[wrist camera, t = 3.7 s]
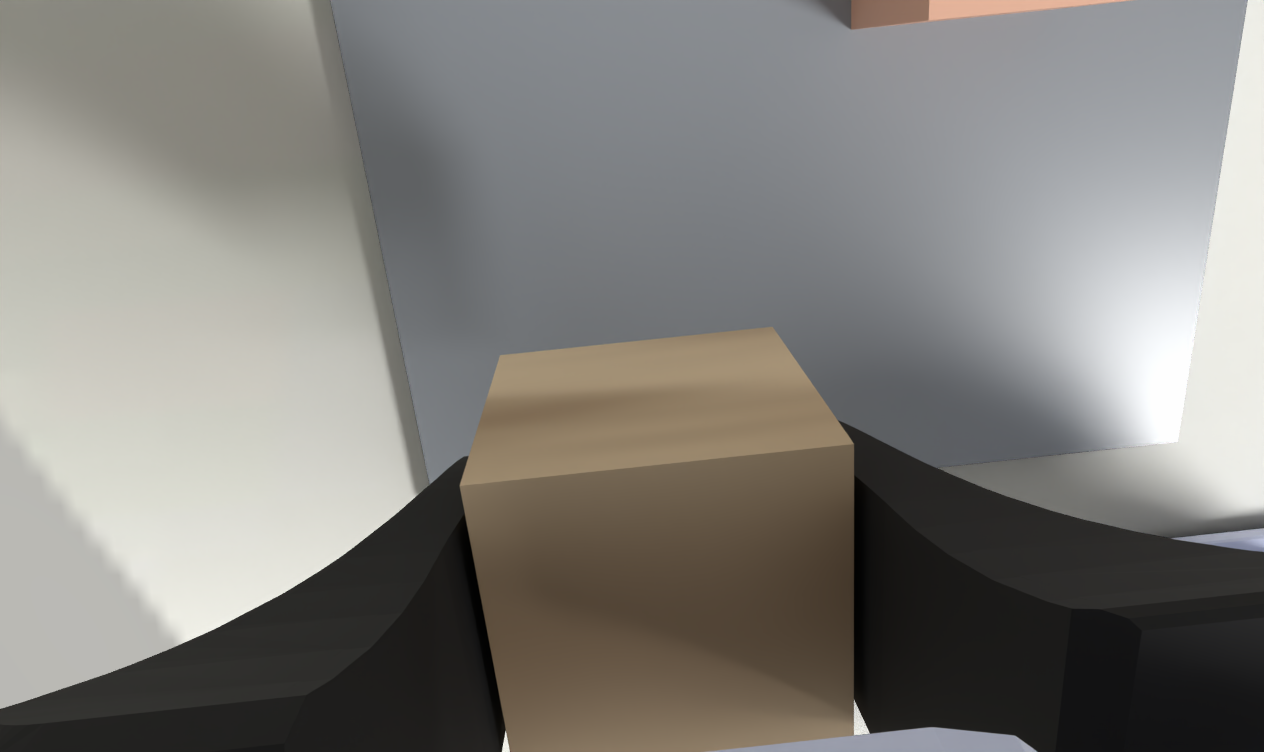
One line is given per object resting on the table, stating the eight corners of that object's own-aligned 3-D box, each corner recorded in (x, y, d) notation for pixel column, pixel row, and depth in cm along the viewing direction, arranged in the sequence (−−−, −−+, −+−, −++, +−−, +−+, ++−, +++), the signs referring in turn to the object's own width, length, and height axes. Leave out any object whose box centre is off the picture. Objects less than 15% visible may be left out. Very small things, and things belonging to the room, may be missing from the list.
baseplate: (1161, 431, 21) (1177, 442, 20) (441, 508, 20) (437, 521, 20) (1281, -373, 15) (1309, -390, 14) (282, -278, 15) (270, -292, 14)
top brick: (780, 559, 14) (853, 749, 10) (537, 586, 13) (516, 786, 10) (772, 326, 12) (854, 444, 8) (500, 354, 12) (459, 486, 8)
